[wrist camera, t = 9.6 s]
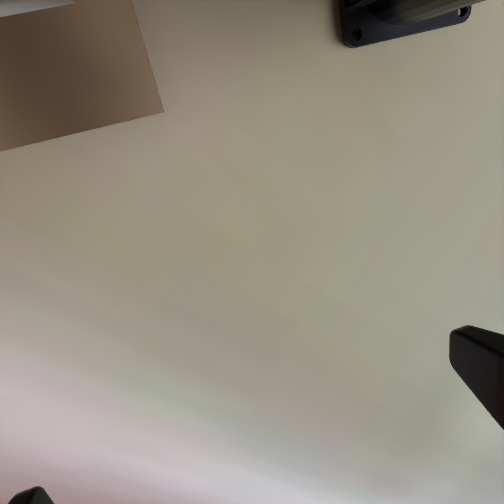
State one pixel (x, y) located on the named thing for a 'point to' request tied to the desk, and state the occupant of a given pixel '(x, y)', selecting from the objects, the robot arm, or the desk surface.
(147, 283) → the desk surface
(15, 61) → the ridge board
